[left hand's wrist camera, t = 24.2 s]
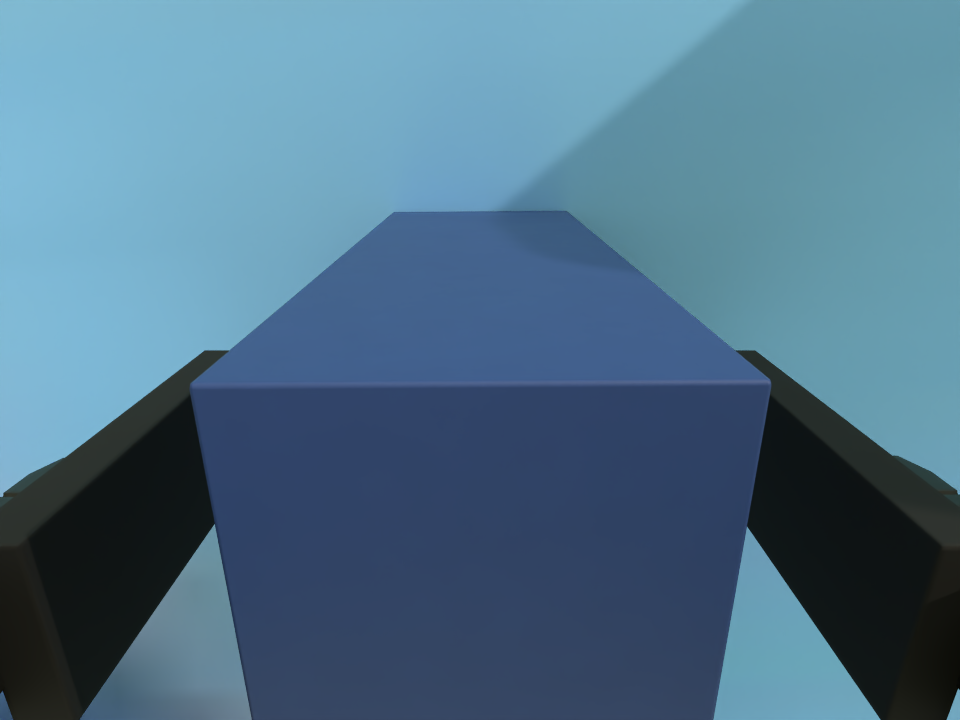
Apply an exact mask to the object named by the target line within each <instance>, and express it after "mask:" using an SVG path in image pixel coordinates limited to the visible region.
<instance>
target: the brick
mask: <svg viewBox="0 0 960 720" xmlns="http://www.w3.org/2000/svg"><path fill="white" fill-rule="evenodd" d="M189 390H190V395H191V400H192V405H193V411H194V416H195V421H196V427H197V432H198V437H199V442H200V448H201V453H202V458H203V464H204V469H205V474H206V479H207V485H208V490H209V495H210V500H211V506H212V511H213V516H214V522H215V527H216V532H217V537H218V543H219V548H220V553H221V558H222V564H223V569H224V574H225V580H226V585H227V590H228V595H229V601H230V606H231V611H232V617H233V622H234V627H235V632H236V638H237V643H238V648H239V653H240V659H241V664H242V669H243V675H244V680H245V685H246V690H247V696H248V701H249V706H250V712H251V717H252V720H713V718H714V712H715V706H716V700H717V695H718V689H719V683H720V677H721V672H722V666H723V660H724V655H725V649H726V643H727V637H728V632H729V626H730V620H731V614H732V609H733V603H734V597H735V591H736V586H737V580H738V574H739V568H740V563H741V557H742V551H743V545H744V540H745V534H746V528H747V523H748V517H749V511H750V505H751V500H752V494H753V488H754V482H755V477H756V471H757V465H758V459H759V454H760V448H761V442H762V436H763V431H764V425H765V419H766V414H767V408H768V402H769V396H770V391H771V381H770V379H769V378H768V377H766V376H765V375H764V374H763V373H762V372H760V371H759V370H758V369H757V368H755V367H754V366H753V365H752V364H751V363H749V362H748V361H747V360H746V359H745V358H743V357H742V356H741V355H740V354H739V353H737V352H736V351H735V350H734V349H733V348H731V347H730V346H729V345H728V344H726V343H725V342H724V341H723V340H722V339H720V338H719V337H718V336H717V335H716V334H714V333H713V332H712V331H711V330H710V329H708V328H707V327H706V326H705V325H704V324H702V323H701V322H700V321H699V320H697V319H696V318H695V317H694V316H693V315H691V314H690V313H689V312H688V311H687V310H685V309H684V308H683V307H682V306H681V305H679V304H678V303H677V302H676V301H675V300H673V299H672V298H671V297H670V296H668V295H667V294H666V293H665V292H664V291H662V290H661V289H660V288H659V287H658V286H656V285H655V284H654V283H653V282H652V281H650V280H649V279H648V278H647V277H646V276H644V275H643V274H642V273H641V272H639V271H638V270H637V269H636V268H635V267H633V266H632V265H631V264H630V263H629V262H627V261H626V260H625V259H624V258H623V257H621V256H620V255H619V254H618V253H617V252H615V251H614V250H613V249H612V248H610V247H609V246H608V245H607V244H606V243H604V242H603V241H602V240H601V239H600V238H598V237H597V236H596V235H595V234H594V233H592V232H591V231H590V230H589V229H588V228H586V227H585V226H584V225H583V224H581V223H580V222H579V221H578V220H577V219H575V218H574V217H573V216H572V215H571V214H569V213H568V212H567V211H503V212H394V213H392V214H391V215H390V216H389V217H388V218H386V219H385V220H384V221H383V222H382V223H381V224H379V225H378V226H377V227H376V228H375V229H373V230H372V231H371V232H370V233H369V234H367V235H366V236H365V237H364V238H363V239H362V240H360V241H359V242H358V243H357V244H356V245H354V246H353V247H352V248H351V249H350V250H348V251H347V252H346V253H345V254H344V255H342V256H341V257H340V258H339V259H338V260H337V261H335V262H334V263H333V264H332V265H331V266H329V267H328V268H327V269H326V270H325V271H323V272H322V273H321V274H320V275H319V276H318V277H316V278H315V279H314V280H313V281H312V282H310V283H309V284H308V285H307V286H306V287H304V288H303V289H302V290H301V291H300V292H299V293H297V294H296V295H295V296H294V297H293V298H291V299H290V300H289V301H288V302H287V303H285V304H284V305H283V306H282V307H281V308H280V309H278V310H277V311H276V312H275V313H274V314H272V315H271V316H270V317H269V318H268V319H266V320H265V321H264V322H263V323H262V324H261V325H259V326H258V327H257V328H256V329H255V330H253V331H252V332H251V333H250V334H249V335H247V336H246V337H245V338H244V339H243V340H242V341H240V342H239V343H238V344H237V345H236V346H234V347H233V348H232V349H231V350H230V351H228V352H227V353H226V354H225V355H224V356H223V357H221V358H220V359H219V360H218V361H217V362H215V363H214V364H213V365H212V366H211V367H209V368H208V369H207V370H206V371H205V372H204V373H202V374H201V375H200V376H199V377H198V378H196V379H195V380H194V381H193V382H192V383H191V384H190V389H189Z"/></svg>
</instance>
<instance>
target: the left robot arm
mask: <svg viewBox="0 0 960 720" xmlns="http://www.w3.org/2000/svg"><path fill="white" fill-rule="evenodd" d="M227 352H228V351H204V352H202V353H201V354H200V355H198V356H197V357H196V358H195V359H193V360H192V361H191V362H189V363H188V364H187V365H185V366H184V367H183V368H181V369H180V370H179V371H178V372H176V373H175V374H174V375H172V376H171V377H170V378H168V379H167V380H166V381H165V382H163V383H162V384H161V385H159V386H158V387H157V388H155V389H154V390H153V391H151V392H150V393H149V394H148V395H146V396H145V397H144V398H142V399H141V400H140V401H138V402H137V403H136V404H135V405H133V406H132V407H131V408H129V409H128V410H127V411H125V412H124V413H123V414H122V415H120V416H119V417H118V418H116V419H115V420H114V421H112V422H111V423H110V424H108V425H107V426H106V427H105V428H103V429H102V430H101V431H99V432H98V433H97V434H95V435H94V436H93V437H92V438H90V439H89V440H88V441H86V442H85V443H84V444H82V445H81V446H80V447H78V448H77V449H76V450H75V451H73V452H72V453H71V454H69V455H68V456H67V457H65V458H62V459H60V460H58V461H56V462H54V463H52V464H49V465H47V466H45V467H43V468H41V469H39V470H37V471H35V472H33V473H30V474H29V475H27V476H26V477H25V478H23V479H22V480H21V481H19V482H18V483H17V484H15V485H14V486H12V487H11V488H10V489H8V490H7V491H6V492H4V493H3V494H4V495H3V497H0V693H1V692H2V691H3V693H4V695H5V698H6V701H7V703H8V706H9V709H10V712H11V714H12V717H13V720H79V719H80V718H81V716H82V715H83V714H84V712H85V711H86V709H87V708H88V706H89V705H90V703H91V702H92V700H93V699H94V698H95V696H96V695H97V693H98V692H99V690H100V689H101V687H102V686H103V685H104V683H105V682H106V680H107V679H108V677H109V676H110V674H111V673H112V672H113V670H114V669H115V667H116V666H117V664H118V663H119V661H120V660H121V659H122V657H123V656H124V654H125V653H126V651H127V650H128V648H129V647H130V645H131V644H132V643H133V641H134V640H135V638H136V637H137V635H138V634H139V632H140V631H141V630H142V628H143V627H144V625H145V624H146V622H147V621H148V619H149V618H150V617H151V615H152V614H153V612H154V611H155V609H156V608H157V606H158V605H159V604H160V602H161V601H162V599H163V598H164V596H165V595H166V593H167V592H168V590H169V589H170V588H171V586H172V585H173V583H174V582H175V580H176V579H177V577H178V576H179V575H180V573H181V572H182V570H183V569H184V567H185V566H186V564H187V563H188V562H189V560H190V559H191V557H192V556H193V554H194V553H195V551H196V550H197V549H198V547H199V546H200V544H201V543H202V541H203V540H204V538H205V537H206V535H207V534H208V533H209V531H210V530H211V528H212V527H213V525H214V524H215V522H214V516H213V511H212V506H211V500H210V495H209V490H208V485H207V479H206V474H205V469H204V464H203V458H202V453H201V448H200V442H199V437H198V432H197V427H196V421H195V416H194V411H193V405H192V400H191V395H190V390H189V389H190V384H191V383H192V382H193V381H194V380H195V379H196V378H198V377H199V376H200V375H201V374H202V373H204V372H205V371H206V370H207V369H208V368H209V367H211V366H212V365H213V364H214V363H215V362H217V361H218V360H219V359H220V358H221V357H223V356H224V355H225V354H226V353H227ZM736 352H737V353H739V354H740V355H741V356H742V357H743V358H745V359H746V360H747V361H748V362H749V363H751V364H752V365H753V366H754V367H755V368H757V369H758V370H759V371H760V372H762V373H763V374H764V375H765V376H766V377H768V378H769V379H770V381H771V391H770V396H769V402H768V408H767V414H766V419H765V425H764V431H763V436H762V442H761V448H760V454H759V459H758V465H757V471H756V477H755V482H754V488H753V494H752V500H751V505H750V511H749V517H748V523H747V527H748V528H749V530H750V531H751V533H752V534H753V535H754V537H755V538H756V540H757V541H758V543H759V544H760V546H761V547H762V548H763V550H764V551H765V553H766V554H767V556H768V557H769V559H770V560H771V562H772V563H773V564H774V566H775V567H776V569H777V570H778V572H779V573H780V575H781V576H782V577H783V579H784V580H785V582H786V583H787V585H788V586H789V588H790V589H791V590H792V592H793V593H794V595H795V596H796V598H797V599H798V601H799V602H800V603H801V605H802V606H803V608H804V609H805V611H806V612H807V614H808V615H809V617H810V618H811V619H812V621H813V622H814V624H815V625H816V627H817V628H818V630H819V631H820V632H821V634H822V635H823V637H824V638H825V640H826V641H827V643H828V644H829V645H830V647H831V648H832V650H833V651H834V653H835V654H836V656H837V657H838V659H839V660H840V661H841V663H842V664H843V666H844V667H845V669H846V670H847V672H848V673H849V674H850V676H851V677H852V679H853V680H854V682H855V683H856V685H857V686H858V687H859V689H860V690H861V692H862V693H863V695H864V696H865V698H866V699H867V700H868V702H869V703H870V705H871V706H872V708H873V709H874V711H875V712H876V714H877V715H878V716H879V718H880V719H881V720H947V717H948V714H949V712H950V709H951V706H952V703H953V701H954V698H955V695H956V693H957V690H958V688H959V690H960V495H958V494H957V490H955V489H954V488H953V487H951V486H950V485H949V484H947V483H946V482H945V481H943V480H942V479H941V478H939V477H938V476H936V475H935V474H934V473H932V472H931V471H929V470H926V469H924V468H922V467H920V466H918V465H916V464H914V463H912V462H909V461H907V460H905V459H903V458H901V457H899V456H892V455H891V454H889V453H888V452H887V451H885V450H884V449H883V448H882V447H880V446H879V445H878V444H876V443H875V442H874V441H872V440H871V439H870V438H869V437H867V436H866V435H865V434H863V433H862V432H861V431H859V430H858V429H857V428H855V427H854V426H853V425H852V424H850V423H849V422H848V421H846V420H845V419H844V418H842V417H841V416H840V415H839V414H837V413H836V412H835V411H833V410H832V409H831V408H829V407H828V406H827V405H825V404H824V403H823V402H822V401H820V400H819V399H818V398H816V397H815V396H814V395H812V394H811V393H810V392H809V391H807V390H806V389H805V388H803V387H802V386H801V385H799V384H798V383H797V382H795V381H794V380H793V379H792V378H790V377H789V376H788V375H786V374H785V373H784V372H782V371H781V370H780V369H779V368H777V367H776V366H775V365H773V364H772V363H771V362H769V361H768V360H767V359H765V358H764V357H763V356H762V355H760V354H759V353H758V352H756V351H736Z"/></svg>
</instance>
